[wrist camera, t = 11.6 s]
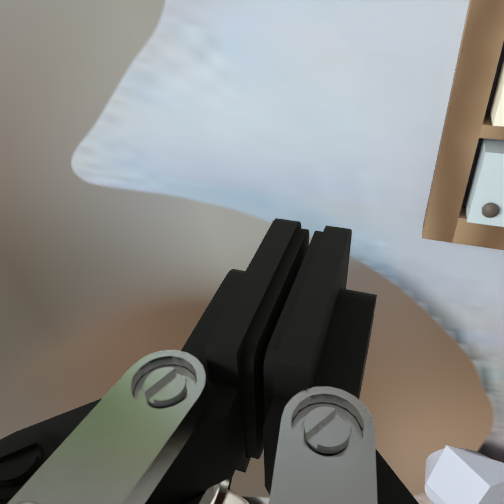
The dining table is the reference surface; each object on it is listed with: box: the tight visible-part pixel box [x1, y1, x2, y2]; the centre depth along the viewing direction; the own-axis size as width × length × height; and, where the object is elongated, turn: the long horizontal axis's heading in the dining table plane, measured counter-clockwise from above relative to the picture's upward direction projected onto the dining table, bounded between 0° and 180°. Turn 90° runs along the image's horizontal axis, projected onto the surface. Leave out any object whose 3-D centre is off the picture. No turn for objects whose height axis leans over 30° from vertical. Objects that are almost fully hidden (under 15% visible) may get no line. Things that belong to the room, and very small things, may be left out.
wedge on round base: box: [425, 445, 504, 504], centre depth 57 cm, size 9×7×13 cm
